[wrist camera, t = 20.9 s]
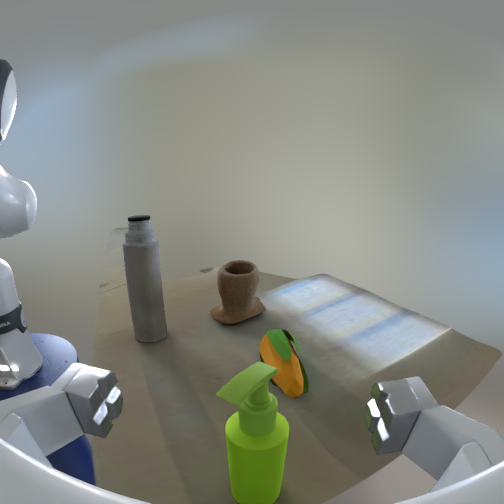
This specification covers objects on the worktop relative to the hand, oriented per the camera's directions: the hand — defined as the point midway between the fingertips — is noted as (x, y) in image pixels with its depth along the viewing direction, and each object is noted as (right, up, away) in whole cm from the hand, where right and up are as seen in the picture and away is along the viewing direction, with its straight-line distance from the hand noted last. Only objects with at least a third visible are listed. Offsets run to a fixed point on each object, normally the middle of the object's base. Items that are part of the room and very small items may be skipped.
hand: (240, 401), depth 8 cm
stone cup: (-3, -13, +69) cm, 70 cm away
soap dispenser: (+1, -25, +18) cm, 31 cm away
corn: (+6, -19, +43) cm, 47 cm away
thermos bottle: (-24, -15, +57) cm, 64 cm away
